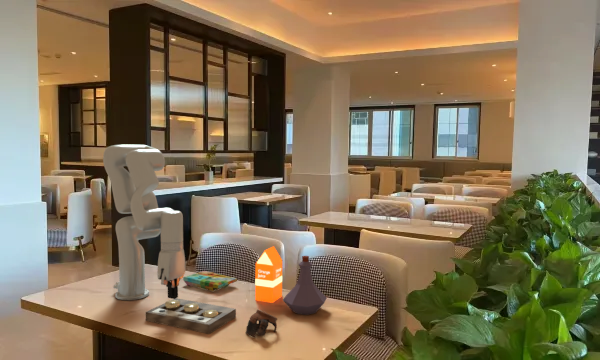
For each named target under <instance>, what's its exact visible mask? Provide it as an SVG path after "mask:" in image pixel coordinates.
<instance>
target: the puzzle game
mask: <svg viewBox="0 0 600 360" xmlns="http://www.w3.org/2000/svg"><path fill="white" fill-rule="evenodd" d="M182 280H183V282H184V283H185V284H186V285H187V286H190V287H194V288H197V289H202V290H206V291H210V292H214V291H218V290H221V289H223V288H226V287H228V286H230V285H231V284H234V283H237V282H238V278H236V277H232V276H228V275H224V274H221V273H215V272H214V271H212V272H211V271H206V270H203V271H199V272H197V273H193V274H188V275H186V276H184V277H183V278H182Z"/></svg>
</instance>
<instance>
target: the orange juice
mask: <svg viewBox="0 0 600 360" xmlns="http://www.w3.org/2000/svg"><path fill="white" fill-rule="evenodd" d="M254 272H255V277H254V278H255V279H254V280H255V281H254V284H255V285H254V287H255V299H254V300H255V301H258V302H265V303H270V304H273V303H275V302H276V301H277V300H279V299H280V298H282V296H283V259H282V258H281V255H280V254H279V252H278V251H277V249H276V247H275V246H274V245H273V246H271V247H269V248H267V249H264V251H263V253H262V254H261V256H260V257H259V258H258V260H257V261H256V262H255V271H254Z"/></svg>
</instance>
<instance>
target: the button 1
mask: <svg viewBox="0 0 600 360" xmlns="http://www.w3.org/2000/svg"><path fill="white" fill-rule="evenodd" d="M164 303H165V309H167V310H172V311H175V310H177V309H179V308H180V301H178V300H173V299H170V300H167V301H165V302H164Z"/></svg>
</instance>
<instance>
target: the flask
mask: <svg viewBox="0 0 600 360" xmlns="http://www.w3.org/2000/svg"><path fill="white" fill-rule="evenodd" d="M301 259H302V260H301V262H299V263H298V266H299V268H300V270H299V276H298V279H297V281H296V282H297V283H296V284H295V286H294V287H292V289H291V290H289V291H288V293H287V294H286V295H285V297H283V298H282V301H283V302H284V303H285V305H286V306H287V307H288V308H289V309H290V310H291V311H292V312H294V313H295V314H297V315H306V316H308V315H312V314H316V313H317V312H318V311H319V310H320V309H321V308H322V306H323V305H324V304H325V302H326V300H327V296H326V295H325V294H324V293H323V292H322V290H320V289H319V288H318V287H317V286H316V284H315V283H314V281H313V280H314V279H313V276H312V273H311V272H312V271H311V268H312V266H313V263H312V262H311V261H309V259H310V256H309V255H302V256H301Z"/></svg>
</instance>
